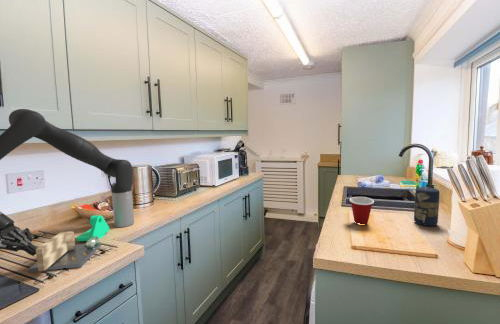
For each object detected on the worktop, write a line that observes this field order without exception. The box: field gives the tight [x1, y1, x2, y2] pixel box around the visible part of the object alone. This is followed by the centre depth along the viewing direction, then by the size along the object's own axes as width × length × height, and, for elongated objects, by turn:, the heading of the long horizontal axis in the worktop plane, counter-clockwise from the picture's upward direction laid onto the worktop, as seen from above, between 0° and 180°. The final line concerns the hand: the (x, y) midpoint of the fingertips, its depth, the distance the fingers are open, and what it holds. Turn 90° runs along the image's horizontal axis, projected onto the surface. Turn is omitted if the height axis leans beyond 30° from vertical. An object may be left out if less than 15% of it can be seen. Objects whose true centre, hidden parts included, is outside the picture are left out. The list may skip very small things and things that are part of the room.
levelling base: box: [28, 236, 102, 273], centre depth 100 cm, size 18×16×4 cm
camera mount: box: [76, 214, 111, 242], centre depth 119 cm, size 12×8×10 cm, turn 175°
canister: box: [413, 186, 440, 227], centre depth 125 cm, size 10×10×18 cm
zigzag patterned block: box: [35, 231, 76, 272], centre depth 96 cm, size 20×5×8 cm, turn 10°
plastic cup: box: [349, 196, 375, 225], centre depth 128 cm, size 11×11×12 cm
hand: (36, 253), depth 92 cm, fingers closed
